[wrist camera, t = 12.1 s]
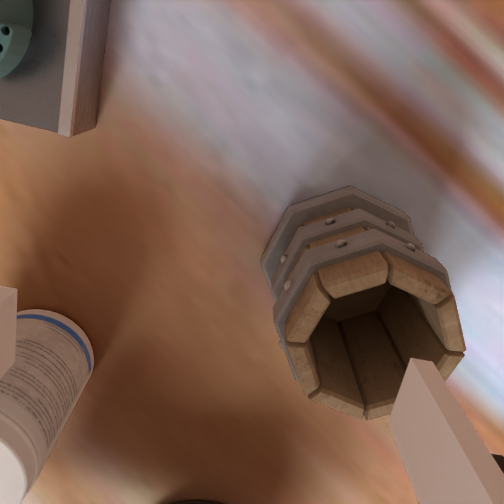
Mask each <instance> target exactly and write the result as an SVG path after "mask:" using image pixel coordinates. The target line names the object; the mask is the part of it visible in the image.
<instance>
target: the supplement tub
mask: <svg viewBox="0 0 504 504" xmlns="http://www.w3.org/2000/svg"><path fill="white" fill-rule="evenodd" d="M93 366H94V355H93V350H92V346H91V344H90V341H89V339H88V337H87V336H86V334H85V333H84V331H83V330H82V329H81V328H80V327H79V326H78V325H77V324H75V323H74V322H73V321H72V320H70V319H68V318H67V317H65V316H63V315H61V314H59V313H56V312H52V311H48V310H41V309H30V310H24V311H20V312H17V319H16V347H15V362H14V363H13V365H12V366H11V367H10V368H9V369H8V371H7V372H6V373H5V374H4V375H3V377H2V378H1V379H0V504H21V502H22V501H23V499H24V497H25V496H26V494H27V493H28V492H29V490H30V489H31V488H32V486H33V485H34V483H35V481H36V479H37V477H38V476H39V474H40V472H41V470H42V468H43V466H44V464H45V462H46V460H47V459H48V457H49V455H50V453H51V451H52V449H53V447H54V445H55V443H56V441H57V439H58V438H59V436H60V434H61V432H62V430H63V428H64V426H65V424H66V422H67V420H68V419H69V417H70V415H71V413H72V411H73V409H74V407H75V405H76V403H77V401H78V399H79V397H80V395H81V394H82V392H83V390H84V388H85V386H86V384H87V382H88V380H89V378H90V376H91V374H92V371H93Z"/></svg>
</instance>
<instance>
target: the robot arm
mask: <svg viewBox="0 0 504 504" xmlns="http://www.w3.org/2000/svg"><path fill="white" fill-rule="evenodd" d="M17 291H18V289H16V288H10V287H5V286H0V379H1V378H2V377H3V375H4V374H5V373H6V372H7V371H8V369H9V368H10V367H11V366H12V365H13V363H14V362H15V347H16V319H17ZM387 424H388V426H389V429H390V432H391V434H392V437H393V439H394V442H395V444H396V447H397V450H398V452H399V455H400V457H401V460H402V462H403V465H404V467H405V470H406V473H407V475H408V478H409V480H410V483H411V485H412V488H413V490H414V493H415V496H416V498H417V501H418V503H419V504H504V457H503V456H501V455H495V454H491V453H490V452H489V450H488V448H487V447H486V445H485V444H484V442H483V440H482V439H481V437H480V436H479V434H478V433H477V431H476V429H475V428H474V426H473V425H472V423H471V422H470V420H469V418H468V417H467V415H466V414H465V412H464V411H463V409H462V407H461V406H460V404H459V403H458V401H457V400H456V398H455V396H454V395H453V393H452V392H451V390H450V389H449V387H448V385H447V384H446V382H445V381H444V379H443V378H442V376H441V374H440V373H439V371H438V370H437V368H436V366H435V365H434V363H433V362H432V361H426V360H421V359H415V358H410V361H409V364H408V367H407V370H406V372H405V375H404V378H403V381H402V384H401V386H400V389H399V392H398V395H397V398H396V400H395V403H394V406H393V409H392V412H391V414H390V417H389V420H388V423H387ZM173 504H219V503H214V502H208V501H183V502H177V503H173Z"/></svg>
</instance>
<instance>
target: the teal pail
mask: <svg viewBox="0 0 504 504" xmlns="http://www.w3.org/2000/svg"><path fill="white" fill-rule="evenodd" d="M32 25H33V2H32V0H0V79H1V78H2V77H4V76H6V75H7V74H9V73H10V72H11V71H12V70H13V69H14V68H15V67H16V66H17V65H18V64H19V62H20V61H21V60H22V58H23V56H24V54H25V52H26V50H27V48H28V45H29V42H30V38H31V35H32V32H31V30H32Z"/></svg>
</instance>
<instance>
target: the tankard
mask: <svg viewBox="0 0 504 504" xmlns="http://www.w3.org/2000/svg"><path fill="white" fill-rule="evenodd" d="M261 266H262V269H263V271H264V274H265V277H266V280H267V282H268V285H269V288H270V291H271V293H272V296H273V299H274V301H275V305H274V306H273V317H274V324H275V327H276V329H277V332H278V335H279V337H280V341H279V346H280V347H281V348H282V349H284V351H285V353H286V356H287V359H288V362H289V364H290V367H291V370H292V372H293V375H294V378H295V380H297V381H299V382H300V384H301V386H302V389H303V392H304V395H308V399H311V400H313V401H315V402H318V403H320V404H323V405H325V406H327V407H330V408H332V409H335V410H337V411H339V412H342V413H344V414H347V415H349V416H352V417H354V418H356V419H359V420H362V418H363V415H364V416H365V419H366V421H367V420H371V419H374V418H378V417H382V416H386V415H389V414H391V412H392V409H393V406H394V403H395V400H396V398H397V395H398V392H399V389H400V386H401V384H402V381H403V378H404V375H405V372H406V370H407V367H408V364H409V361H410V358H415V359H421V360H426V361H432V362H433V363H434V365H435V366H436V368H437V370H438V371H439V373H440V374H441V376H442V378H443V379H444V381H446V380H447V378H448V377H449V376H450V374H451V373H452V372H453V370H454V369H455V368H456V366H457V365H458V364H459V362H460V361H461V360H462V358H463V357H464V356H465V355H464V353H463V352H464V351H465V350H466V347H465V342H464V338H463V333H462V329H461V324H460V319H459V315H458V310H457V306H456V301H455V297H454V295H453V292H452V291H451V286H450V282H449V277H448V273H447V270H446V269H445V268H444V267H443V266H442V264H441V263H440V262H439V261H438V260H437V259H436V258H434V257H432V256H430V255H428V254H426V253H424V251H423V247H422V244H421V242H420V241H419V240H418V239H417V238H416V237H415V236H414V234H413V230H412V226H411V221H410V217H409V216H408V215H406V214H405V213H404V212H402V211H400V210H398V209H396V208H394V207H392V206H390V205H388V204H386V203H384V202H382V201H380V200H378V199H376V198H374V197H372V196H370V195H368V194H366V193H364V192H362V191H360V190H358V189H356V188H354V187H352V186H348V187H345V188H342V189H339V190H336V191H333V192H330V193H327V194H324V195H321V196H318V197H315V198H312V199H309V200H306V201H303V202H299V203H296V204H293V205H290V206H289V207H288V209H287V210H286V212H285V214H284V216H283V218H282V220H281V222H280V224H279V226H278V227H277V229H276V231H275V233H274V235H273V237H272V239H271V241H270V243H269V244H268V246H267V248H266V250H265V252H264V254H263V256H262V258H261Z"/></svg>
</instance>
